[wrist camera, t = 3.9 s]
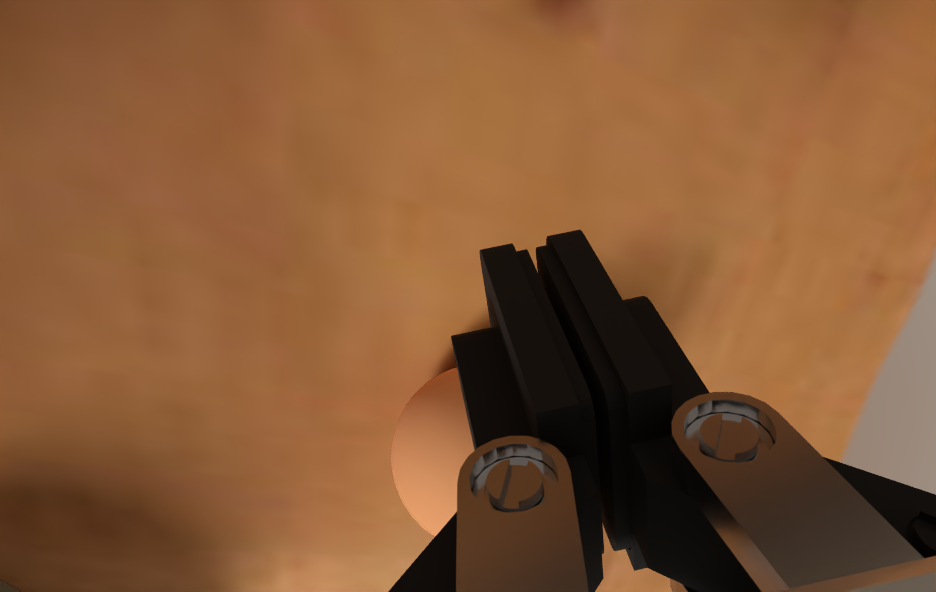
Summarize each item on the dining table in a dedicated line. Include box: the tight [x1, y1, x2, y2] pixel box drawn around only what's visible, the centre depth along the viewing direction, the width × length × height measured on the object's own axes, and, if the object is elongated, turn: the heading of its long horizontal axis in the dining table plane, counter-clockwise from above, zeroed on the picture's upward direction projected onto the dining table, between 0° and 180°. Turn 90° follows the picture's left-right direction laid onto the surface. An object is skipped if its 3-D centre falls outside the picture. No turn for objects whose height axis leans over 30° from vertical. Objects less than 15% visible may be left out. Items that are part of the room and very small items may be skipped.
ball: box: [391, 367, 475, 536], centre depth 23 cm, size 6×6×6 cm
